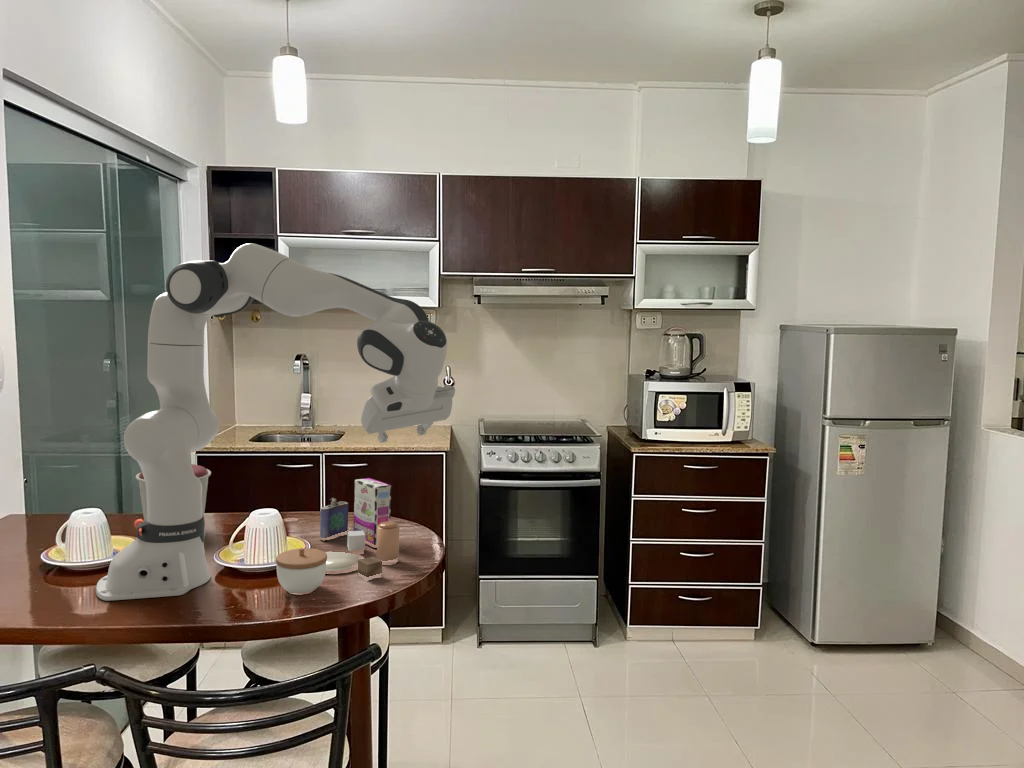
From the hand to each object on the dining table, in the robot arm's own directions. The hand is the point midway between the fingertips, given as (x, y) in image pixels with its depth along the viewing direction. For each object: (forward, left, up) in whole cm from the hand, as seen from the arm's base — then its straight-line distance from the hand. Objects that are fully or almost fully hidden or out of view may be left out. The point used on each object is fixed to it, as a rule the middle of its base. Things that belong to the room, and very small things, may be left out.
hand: (401, 436), depth 162 cm
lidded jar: (-21, +5, -34) cm, 40 cm away
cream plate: (-10, +18, -34) cm, 39 cm away
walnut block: (-5, +7, -34) cm, 35 cm away
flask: (-5, +39, -34) cm, 52 cm away
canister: (-43, +57, -34) cm, 79 cm away
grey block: (-3, +25, -34) cm, 42 cm away
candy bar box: (+3, +31, -34) cm, 46 cm away
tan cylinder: (+2, +15, -34) cm, 37 cm away
